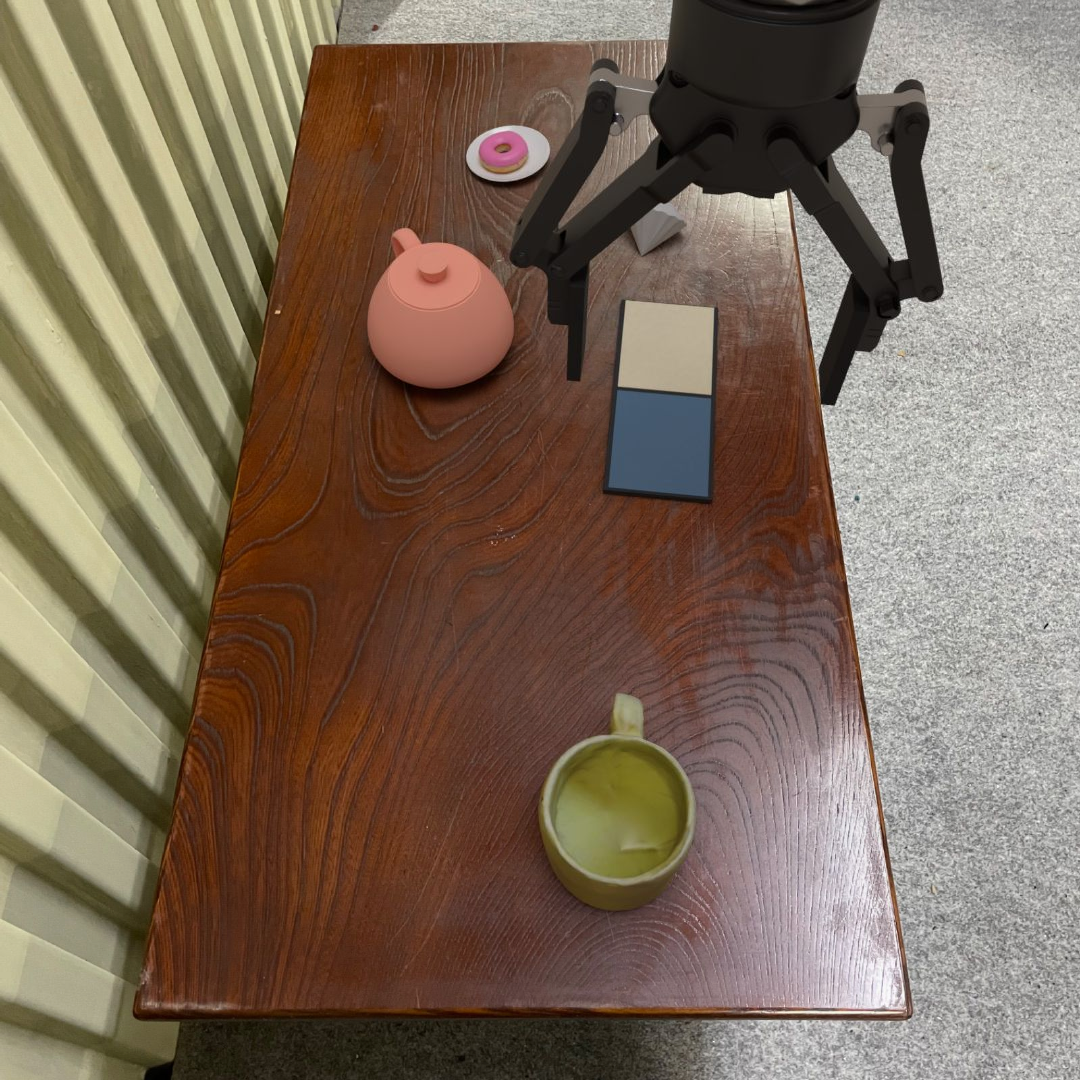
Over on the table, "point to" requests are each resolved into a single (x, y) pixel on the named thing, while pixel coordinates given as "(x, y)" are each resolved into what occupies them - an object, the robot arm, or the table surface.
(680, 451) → the sorting mat
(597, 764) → the mug
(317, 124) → the table surface
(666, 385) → the cream pad
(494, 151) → the donut
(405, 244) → the sugar bowl
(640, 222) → the gemstone
